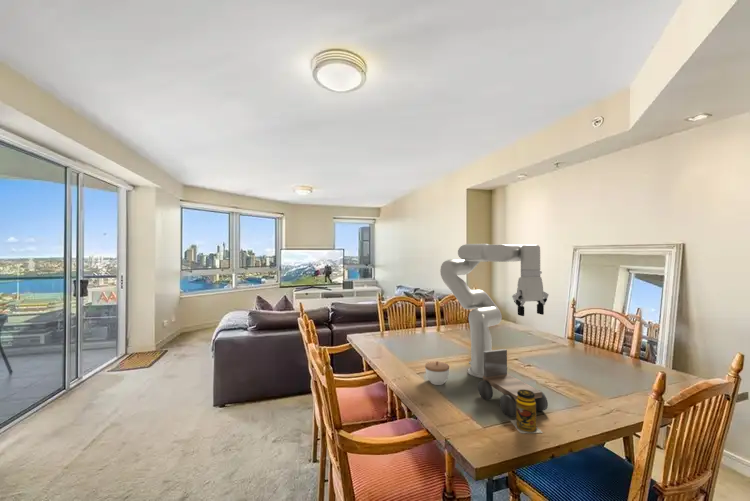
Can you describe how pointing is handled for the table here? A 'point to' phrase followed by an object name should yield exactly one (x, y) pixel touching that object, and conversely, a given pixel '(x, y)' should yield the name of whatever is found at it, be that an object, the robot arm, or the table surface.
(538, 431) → the condiment
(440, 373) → the lidded jar
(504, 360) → the trolley
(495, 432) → the table surface
